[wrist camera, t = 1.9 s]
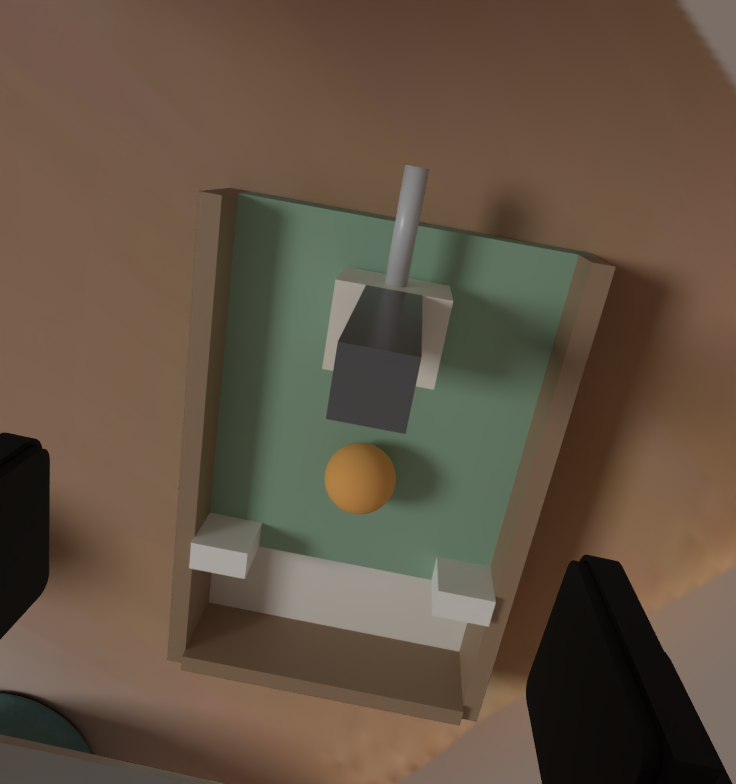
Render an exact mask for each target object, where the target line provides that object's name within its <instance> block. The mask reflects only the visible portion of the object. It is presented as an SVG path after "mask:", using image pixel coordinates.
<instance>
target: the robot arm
mask: <svg viewBox="0 0 736 784" xmlns="http://www.w3.org/2000/svg"><path fill="white" fill-rule="evenodd" d="M49 484H50V458H49V453H48V451H47V450H46V449H42V445H41V443H40V441H38V440H37V439H34V438H29V437H24V436H20V435H15V434H10V433H1V434H0V639H1V638H2V637H3V636H4V635H5V634H6V633H7V632H8V630H9V629H10V628H11V627H12V626H13V625H14V624H15V623H16V622H17V621H18V619H19V618H20V617H21V616H22V615H23V614H24V613H25V612H26V611H27V610H28V608H29V607H30V606H31V605H32V604H33V603H34V602H35V601H36V600H37V599H38V597H39V596H40V595H41V594H42V592H43V591H44V589H45V587H46V584H47V581H48V577H49ZM526 700H527V706H528V711H529V716H530V722H531V727H532V732H533V737H534V743H535V748H536V754H537V759H538V764H539V770H540V775H541V780H542V784H732V782H731V780H730V778H729V776H728V774H727V772H726V770H725V768H724V766H723V764H722V762H721V760H720V758H719V756H718V754H717V752H716V750H715V748H714V746H713V744H712V742H711V740H710V738H709V736H708V734H707V732H706V730H705V728H704V726H703V724H702V722H701V720H700V718H699V716H698V714H697V712H696V710H695V708H694V706H693V704H692V702H691V700H690V698H689V696H688V694H687V692H686V690H685V688H684V686H683V684H682V682H681V680H680V678H679V676H678V674H677V672H676V670H675V668H674V666H673V664H672V662H671V660H670V658H669V657H668V655H667V654H666V652H664V650H663V648H662V646H661V644H660V642H659V640H658V638H657V636H656V635H655V632H654V630H653V628H652V626H651V624H650V622H649V620H648V618H647V616H646V614H645V612H644V610H643V608H642V606H641V604H640V602H639V600H638V597H637V595H636V593H635V591H634V589H633V587H632V585H631V583H630V581H629V579H628V577H627V575H626V573H625V571H624V569H623V567H622V565H621V564H620V563H619V562H618V561H614V560H609V559H605V558H600V557H595V556H590V555H584V556H583V557H582V558H581V559H580V561H579V562H578V561H574V560H573V561H571V562H570V563H569V565H568V567H567V570H566V573H565V575H564V578H563V581H562V584H561V587H560V589H559V592H558V595H557V598H556V601H555V603H554V606H553V609H552V612H551V615H550V617H549V620H548V623H547V626H546V629H545V631H544V634H543V637H542V640H541V643H540V646H539V648H538V651H537V654H536V657H535V660H534V662H533V665H532V668H531V671H530V674H529V677H528V680H527V686H526ZM0 784H225V783H221V782H216V781H212V780H207V779H203V778H198V777H194V776H189V775H185V774H180V773H175V772H171V771H166V770H162V769H157V768H153V767H148V766H144V765H139V764H135V763H130V762H125V761H121V760H116V759H112V758H107V757H103V756H98V755H94V754H89V753H84V752H80V751H75V750H71V749H66V748H61V747H57V746H52V745H47V744H43V743H38V742H33V741H29V740H24V739H19V738H15V737H10V736H5V735H1V734H0Z"/></svg>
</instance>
